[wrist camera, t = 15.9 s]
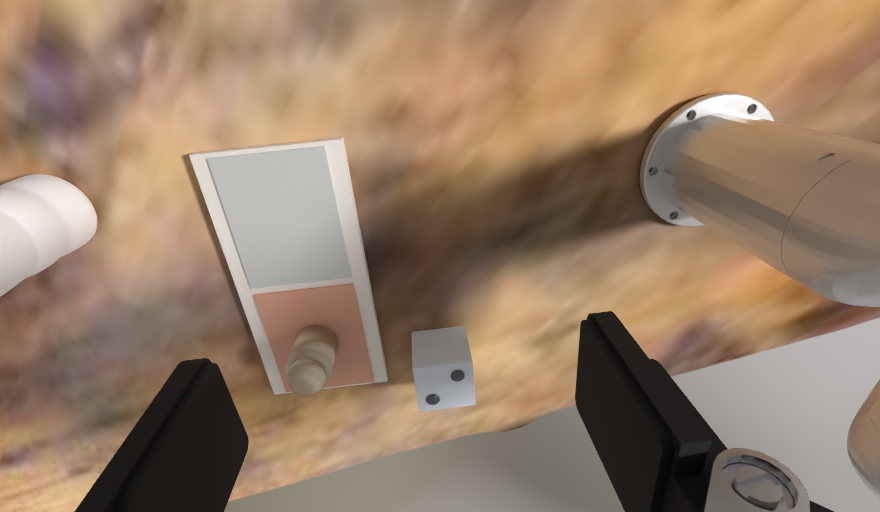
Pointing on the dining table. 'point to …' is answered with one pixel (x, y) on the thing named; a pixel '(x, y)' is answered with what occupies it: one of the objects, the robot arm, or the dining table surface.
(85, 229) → the water bottle
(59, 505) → the dining table surface
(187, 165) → the dining table surface
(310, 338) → the pawn
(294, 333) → the board
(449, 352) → the die
